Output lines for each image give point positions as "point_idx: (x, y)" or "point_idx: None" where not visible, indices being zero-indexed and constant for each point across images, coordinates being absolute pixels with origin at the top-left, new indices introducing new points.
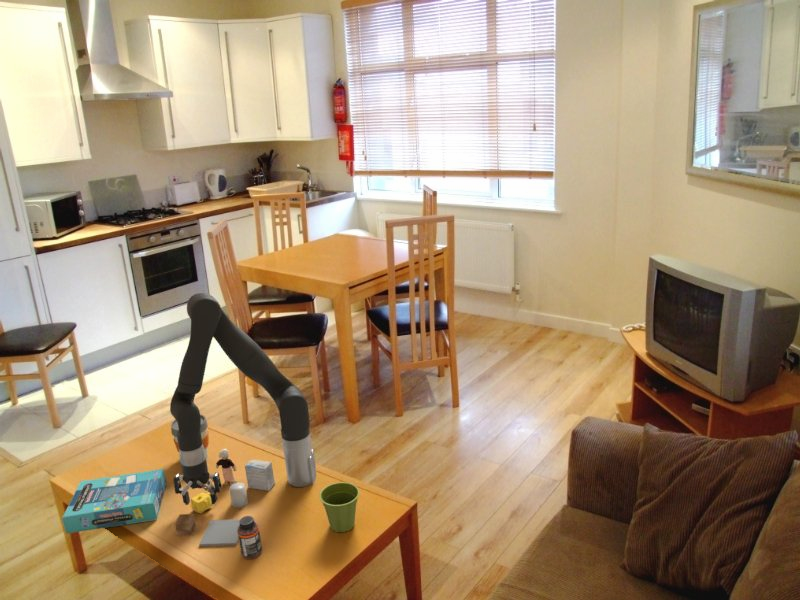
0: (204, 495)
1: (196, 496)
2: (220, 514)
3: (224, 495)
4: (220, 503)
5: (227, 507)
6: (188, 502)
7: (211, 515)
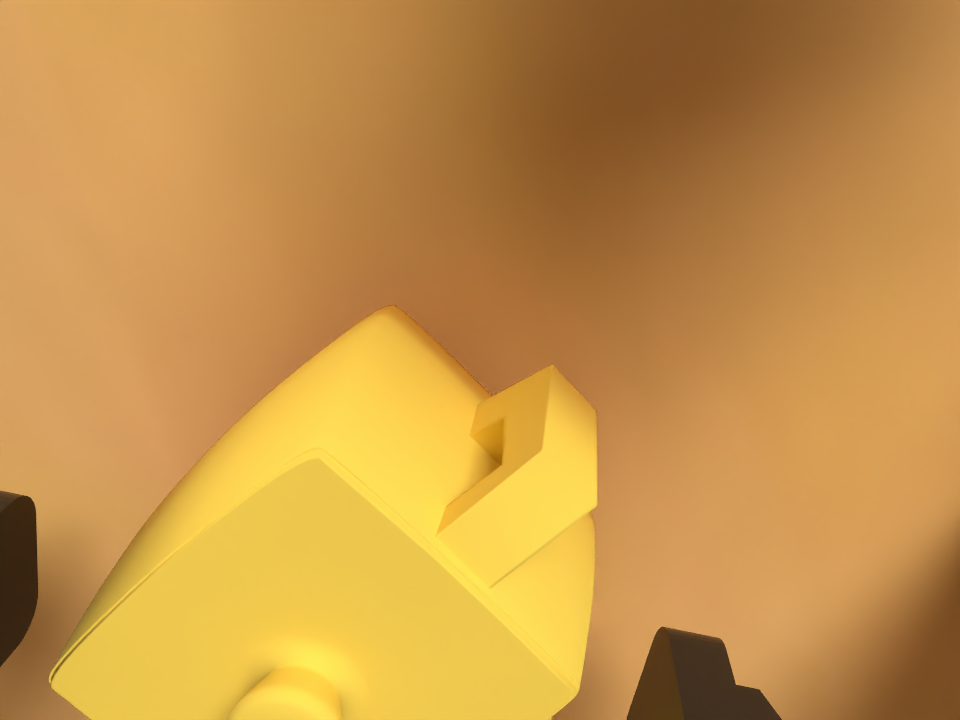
0: (404, 640)
1: (163, 617)
2: None
3: (869, 69)
4: (754, 387)
5: (901, 560)
6: (15, 585)
7: (581, 696)
